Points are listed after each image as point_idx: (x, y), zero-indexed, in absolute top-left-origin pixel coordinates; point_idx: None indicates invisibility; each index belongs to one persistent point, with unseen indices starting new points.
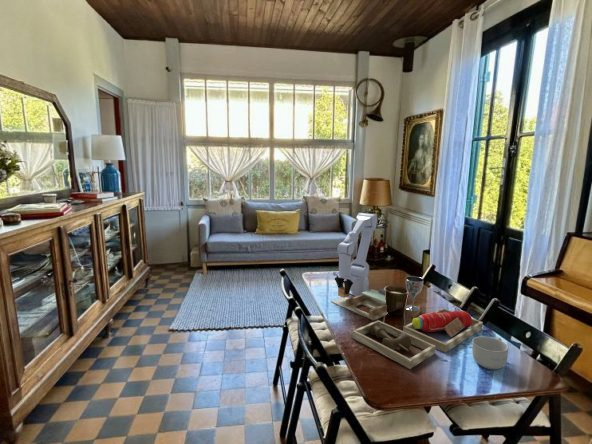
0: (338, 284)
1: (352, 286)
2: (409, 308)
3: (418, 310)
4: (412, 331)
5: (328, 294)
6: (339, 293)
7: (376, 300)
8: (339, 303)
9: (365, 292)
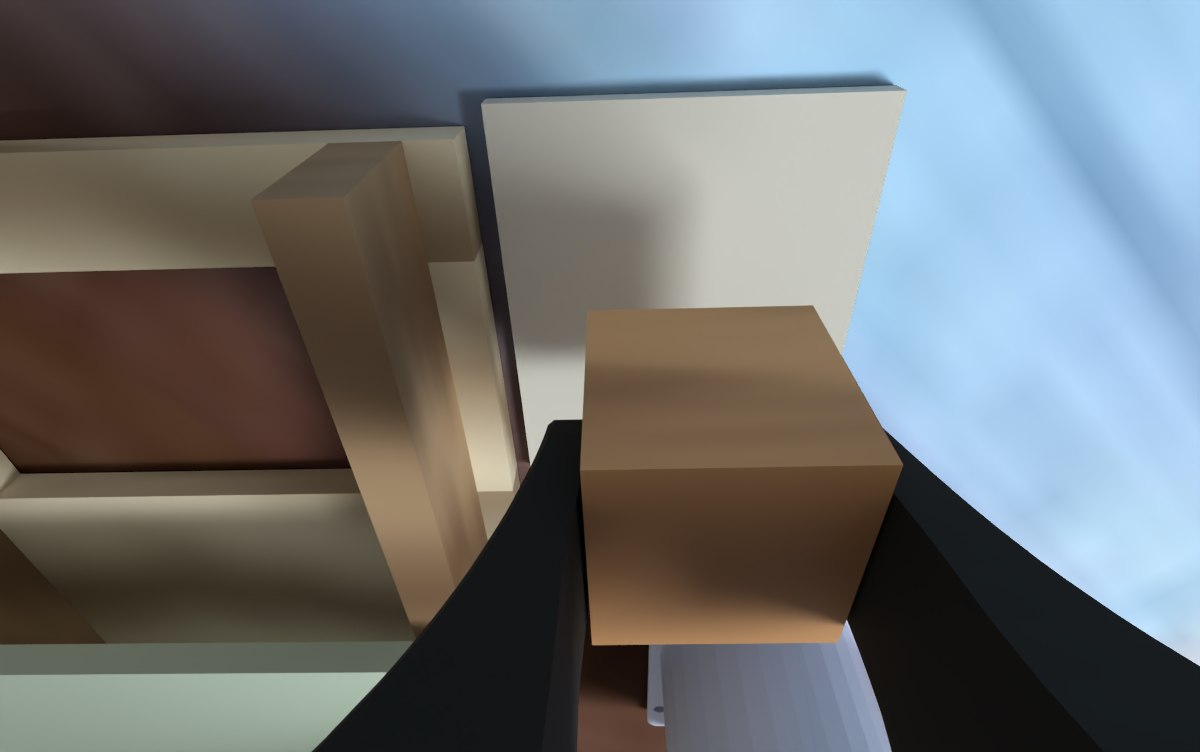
0: (978, 598)
1: (820, 726)
2: None
3: None
4: None
5: (1161, 337)
6: (772, 347)
7: None
8: (640, 160)
9: None
